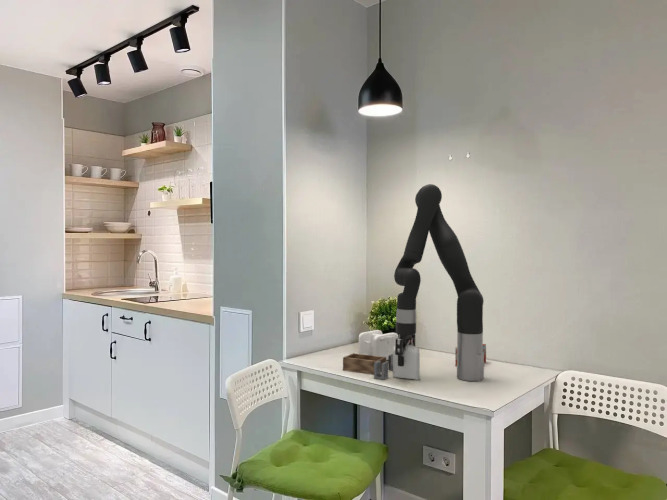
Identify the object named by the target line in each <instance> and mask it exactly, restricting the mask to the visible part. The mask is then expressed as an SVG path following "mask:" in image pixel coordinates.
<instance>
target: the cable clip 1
mask: <svg viewBox="0 0 667 500" xmlns="http://www.w3.org/2000/svg"><path fill="white" fill-rule="evenodd" d="M388 378H389V370H388V361H386V362H384V363H382V372H381V361H377V362H375V363H374V374H373V379H376V380H386V379H388Z"/></svg>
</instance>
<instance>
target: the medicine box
mask: <svg viewBox="0 0 667 500" xmlns="http://www.w3.org/2000/svg"><path fill="white" fill-rule="evenodd" d="M454 352H455V357H454V358H455V367H457V346H456V347H455V350H454ZM483 352H484V364H485V363H486V362H487V344H486V343H483Z"/></svg>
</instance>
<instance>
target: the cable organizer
mask: <svg viewBox="0 0 667 500" xmlns="http://www.w3.org/2000/svg"><path fill="white" fill-rule="evenodd" d="M396 339H399V334H397V333H396V332H388V333H383V332H382V330H378V329H374V330H369V331H364V332H363V331H362V332H360V333H359V335H358V354H364V355H372V356H380V357H386V361H388V356H389V355H391V354H393V348H394V346H395V344H396Z"/></svg>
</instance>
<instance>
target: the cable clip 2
mask: <svg viewBox="0 0 667 500" xmlns="http://www.w3.org/2000/svg"><path fill="white" fill-rule="evenodd" d="M387 362H388V371H389V370H390V371H392V372H393V354H391V355H389V356H388V360H387Z"/></svg>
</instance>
